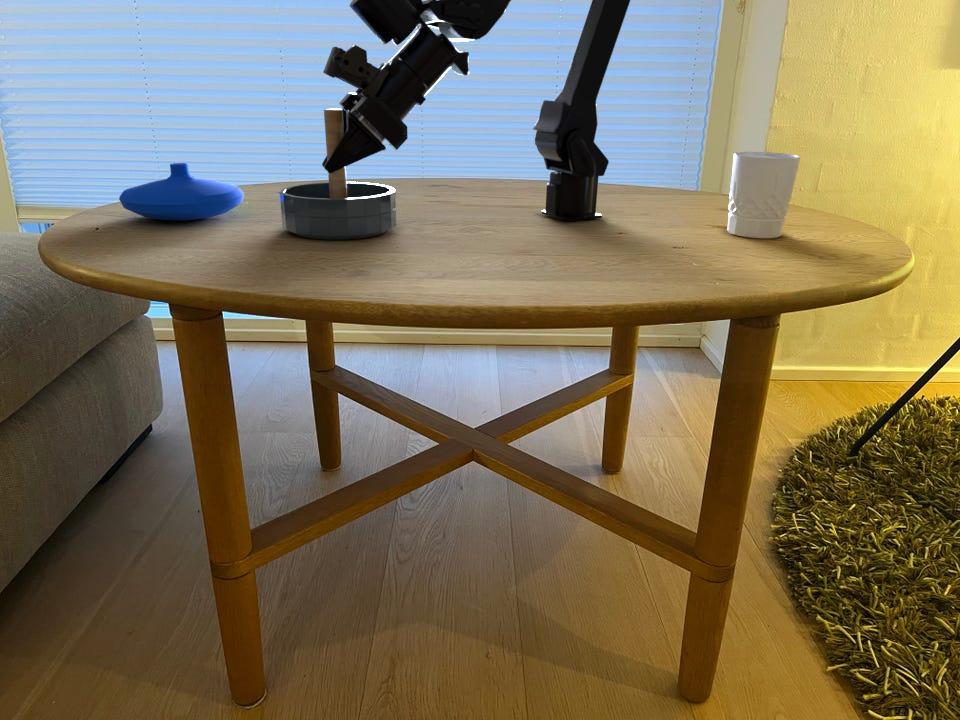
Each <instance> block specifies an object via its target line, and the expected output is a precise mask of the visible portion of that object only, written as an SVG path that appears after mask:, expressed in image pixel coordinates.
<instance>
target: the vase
mask: <svg viewBox="0 0 960 720" xmlns="http://www.w3.org/2000/svg"><path fill="white" fill-rule="evenodd" d="M169 168H170V175H169V176H168V177H167V178H164V179H163V178H162V179H158V180H154V181H150V182H146V183H143V184H140V185H136V186H132V187H129V188H126V189H125V190H123V191H122V192H121V194H120V195H119V197H118V198H119V199H118V200H119V202H120V204H121V205H122V207H123V209H125V210H127V211H129V212H132V213H134V214H137V215H138V216H142V217H145V218H148V219H154V220H163V221H164V220H165V221H176V222H179V221H180V222H182V221H184V222H185V221H195V220H201V219H207V218H213V217H217V216H221V215H224V214H226V213H227V212H228V213H229V212H230V211H231V210H232V209H234V208H236V207H238V206H239V205H241V204H242V203H243V201H244V196H245V192H244V191H243V190H242V189H241V188H240V187H239V186H238V185H236V184H233V183H232V184H231V183H228V182H224V181H217V180H214V179H213V180H212V179H207V178H201V177H194V176H192V175H191V174H190V170H189V164H188V163H186V162H173V163H169Z"/></svg>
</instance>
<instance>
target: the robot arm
mask: <svg viewBox="0 0 960 720" xmlns="http://www.w3.org/2000/svg"><path fill="white" fill-rule="evenodd" d="M511 1H512V0H424V1H423V0H351V1H350V4H349V8H350V9H351V10H352V11H353V12H354V13H355V14H356V15H357V17H359V19H360V20H361V21H362V22H363V23H364V25H366V27H368V29H369V30H370V31H371V32H372V33H373V34H374V36H375V37H376V38H377V39H379V41H380V42H381V43H382V44H383V45H387V44H388V43H390V42H391V41H392V43H393V44H394V45H395V46H398V45H400V44H402V43H403V42H404V41H406V39H407V38H408V37H410V35H411V34H412V33H413V32H414V31H415V29H416V28H417V30H416V31H415V33H413V34H412V35H411V37H410V39H408V40H407V41H406V43H405V44H403V46H402V47H401V48H400V49H399V50H398V52H397V53H396V54H395V55H394V56H393V57H392V58H391V59H390V60H389V61H388V62H381V63H380V64H379V65H378V66H375V65H373V63H371V62H368V53H367V50H366V49H364V48H362V47H361V46H358V45H356V44H354V45H352V46H351V47H349V48H348V49H347V50H344V49H343V48H341V47H338V46H333V47H332V48H331V51H330V52H329V55H328V59H327V61H326V64H325V65H324V66H325V67H324V69H323V74H325V75H326V76H329V77H330V78H332V79H334V78H336V79H338V80H340V81H343V82H345V83H347V84H348V85H350V86H353V87H354V88H357V89H356V90H355V92H347V93H346V94H345V96H344V97H343V98H342V99H341V100H340V101H339V103H338V104H339V105H340V107H341V108H340V109H342V114H343V131H344V135H343V136H342V138H341V140H340V141H339V143H338V144H337V146H336V148H335V149H334V151H333V152H332V154H331V155H330V157H329V159H328V160H327V155H326V156H325V158H324V160H323V161H322V163H321V166H322V167H323V168H324V170H325V171H327V173H328V172H329V173H333V172H335V171H337V170H339V169H341V168H344V167H346V168H347V167H348V166H350V165H352V164H354V163H357V162H359V161H361V160H364V159H365V158H368V157H370V156H373V155H375V154H377V153H380V152H382V151H385V150H387V149H388V148H387V146H385V144H383V142H384V141H385V140H386V141H387V142H388V143H389V146H390V147H391V148H392V149H394V150H396V151H397V150H399V148H401V146H402V145H403V144H404V143H405V142H406V141H407V140H408V137H409V136H408V135H409V134H408V126H407V124H405V123H404V120H405V118H406V117H407V116H408V115H409V114H410V113H411V112H413V110H414V109H415V108H416V106H422V105H423V104H424V102H426V100H427V98H426V97H425V96H426V95H427V94H428V93H429V92H430V91H431V90H432V89H433V88H434V87H435V85H436V84H437V83H438V82H439V81H440V80H441V79H442V78H443V77H444V76H445V74H446V73H448V71H449V70H450V69H452V70H453V72H454V73H455V74H456V75H462V76H468V75H469V74H470V70H469V69H470V68H469V56H470V53H469V51H467V50H466V51H465V50H461V51H459V50H458V49H457V48H456V46H455V45H454V44H453V43H452V42H456V43H457V42H458V43H459V42H469V41H476V40H480V39H482V38H483V37H485V36H487V34H489V33H490V31H491V30H492V28H494V26H495V25H496V24H497V23H498V22H499V20H500V19H501V18H502V17H503V15H504V14H505V12H506V10H507V9H508V6H509V5H510V3H511ZM630 3H631V0H591V4H590V7H589V10H588V12H587V15H586V19H585V21H584V22H585V23H584V24H583V27H582V31H581V33H580V37H579V39H578V43H577V46H576V49H575V52H574V55H573V57H572V60H571V63H570V66H569V70H568V73H567V75H566V79H565V82H564V84H563V87H562V90H561V92H560V93H559V94H558V96H557V97H556V98H555V100H549V99H548V100H547V99H544V100H543V101H542V103H541V106H540V111H539V112H540V113H539V116H538V118H537V121H536V123H535V124H534V125H533V127H532V130H533V131H535V135H534V136H535V137H534V145H535V146H536V148H537V151H538V152H539V154H540V155H541V156H542V158H543V161H544V165H545V169H546V170H548V171H550V172H549V182H548V183H547V184H546V194H545V209H543V210H541V215H545V216H548V217H550V218H554V219H557V220H560V221H564V222H572V221H574V222H575V221H583V220H584V221H585V220H594V219H596V220H597V219H602V218H603V214H601V213H598V212H597V203H598V190H599V189H598V188H599V177H603V176H605V174H606V171H607V169H608V165H609V163H610V161H609V159H608V158H607V156H606V155H605V154H604V153H603V152H602V151H601V149H600V148H599V146H598V145H597V144H596V143H595V140H596V135H597V129H598V112H597V111H598V110H597V100H598V99H597V98H598V96H599V94H600V90H601V87H602V84H603V82H604V79H605V75H606V72H607V69H608V67H609V64H610V62H611V58H612V55H613V52H614V49H615V46H616V44H617V41H618V38H619V35H620V32H621V29H622V26H623V24H624V21H625V19H626V14H627V12H628V9H629V7H630ZM430 27H431V28H434V29H438V31H439V32H440V33H439V34H436V33H435V32H434V31H433V30H432V29H431V28H430Z"/></svg>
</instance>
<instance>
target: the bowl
mask: <svg viewBox="0 0 960 720" xmlns="http://www.w3.org/2000/svg"><path fill="white" fill-rule="evenodd" d="M346 182H347V198H340V199H330V194H329V181H327V182H312V183H311V182H309V183H301V184H296V185H290V186H287V187H284V188H281V189H280V191H279V201H280V202H279V203H280V212H281V223H282V228H283V229H284V230H286V231H287V232H290V233H292V234H294V235H296V236H299V237H302V238H307V239H313V240H314V239H315V240H327V241H329V240H330V241H334V240H335V241H336V240H337V241H339V240H340V241H341V240H357V239H365V238H366V239H367V238H371V237H372V238H373V237H376V236H381V235H382V234H385V233H387V232H388V231H391V230H392V229H393V228H395V227H396V226H397V208H396V207H397V205H396V203H397V202H396V189H395V188H394V187H392V186H389V185H385V184H379V183H370V182H358V181H357V182H356V181H346Z"/></svg>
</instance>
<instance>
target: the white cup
mask: <svg viewBox="0 0 960 720" xmlns="http://www.w3.org/2000/svg"><path fill="white" fill-rule="evenodd" d="M800 161H801V156H800V155H797V154H792V153H791V154H790V153H784V152H783V153H782V152H769V151H737V152H734V153H733V159H732V169H731V177H730V185H729V200H728V212H729V213H728V217H727V225H726V226H727V227H726V230H727V232H728V233H729V234H731V235H734V236H737V237H738V236H739V237H744V238H750V239H751V238H752V239H765V240H766V239H776V238H779V237H781V236H782V234H783V231H784V225H785V223H786V222H785V221H786V218H785V217H786V216H787V215H788V211H789V208H790V202H791V199H792V196H793V192H794V187H795V183H796V177H797V174H798V170H799V165H800Z"/></svg>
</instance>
